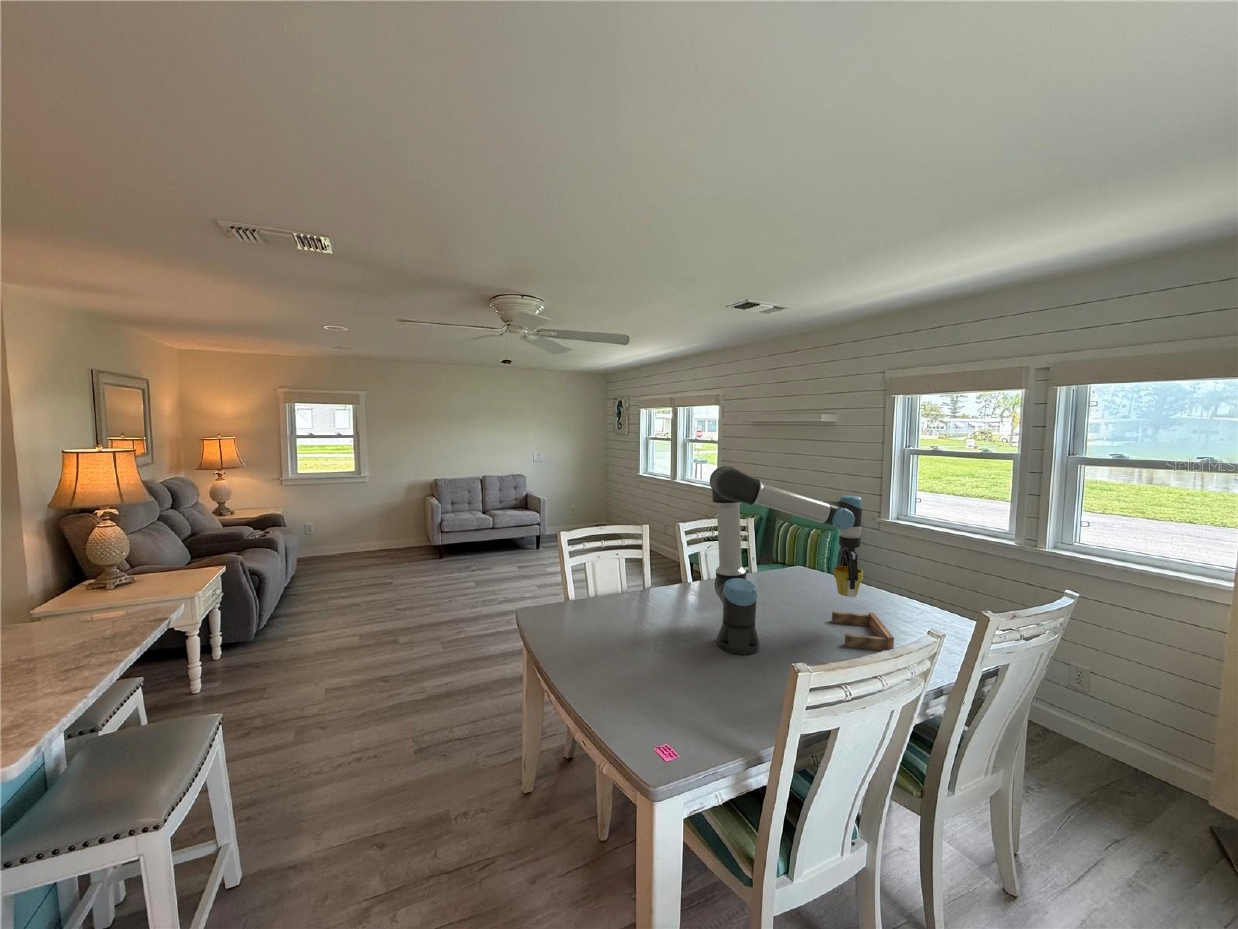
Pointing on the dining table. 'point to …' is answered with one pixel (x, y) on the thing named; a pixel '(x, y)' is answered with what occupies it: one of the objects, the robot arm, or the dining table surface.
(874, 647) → the docking bay
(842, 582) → the plant pot
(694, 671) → the dining table surface
